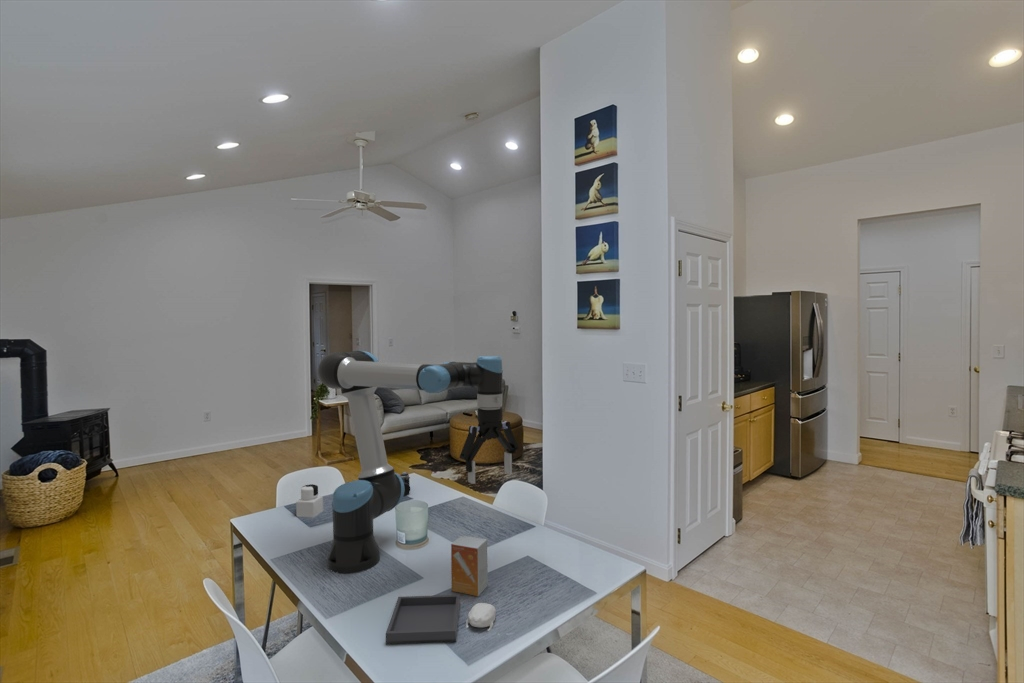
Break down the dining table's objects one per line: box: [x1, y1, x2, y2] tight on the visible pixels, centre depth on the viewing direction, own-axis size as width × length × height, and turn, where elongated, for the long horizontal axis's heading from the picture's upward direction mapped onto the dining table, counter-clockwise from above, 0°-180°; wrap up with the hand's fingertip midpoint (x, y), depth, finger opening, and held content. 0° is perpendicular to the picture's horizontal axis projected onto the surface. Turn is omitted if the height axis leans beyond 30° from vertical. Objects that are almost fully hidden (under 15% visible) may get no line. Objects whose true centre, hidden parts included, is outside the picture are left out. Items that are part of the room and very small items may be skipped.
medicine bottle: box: [295, 484, 324, 519], centre depth 191 cm, size 7×7×12 cm
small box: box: [450, 535, 489, 597], centre depth 136 cm, size 8×6×13 cm
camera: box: [394, 471, 411, 498], centre depth 213 cm, size 16×10×10 cm, turn 136°
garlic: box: [465, 602, 497, 632], centre depth 120 cm, size 8×7×4 cm
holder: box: [385, 594, 461, 645], centre depth 120 cm, size 16×16×2 cm
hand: (490, 478), depth 150 cm, fingers open, 13 cm apart
